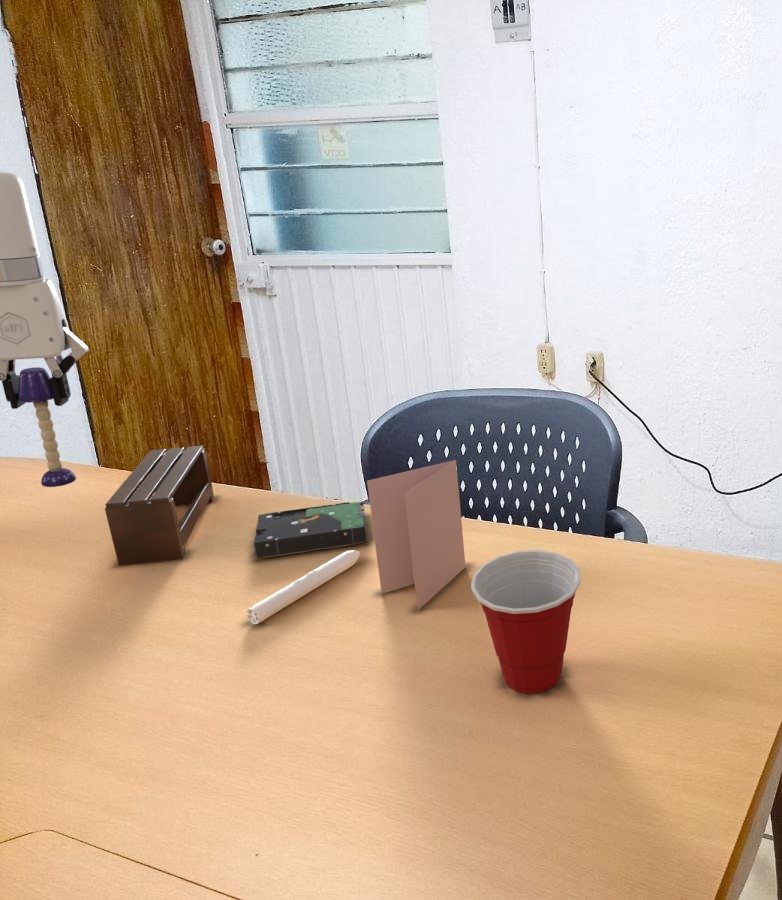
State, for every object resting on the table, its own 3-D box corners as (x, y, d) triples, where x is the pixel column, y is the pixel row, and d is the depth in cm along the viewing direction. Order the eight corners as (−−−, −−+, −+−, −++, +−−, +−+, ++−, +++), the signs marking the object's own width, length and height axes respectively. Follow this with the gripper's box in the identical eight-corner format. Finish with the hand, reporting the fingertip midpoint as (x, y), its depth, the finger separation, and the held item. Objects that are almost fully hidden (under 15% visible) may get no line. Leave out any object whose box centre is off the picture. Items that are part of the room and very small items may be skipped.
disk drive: (257, 562, 112) (369, 543, 116) (253, 543, 111) (367, 525, 115) (260, 531, 121) (365, 515, 125) (257, 514, 120) (362, 497, 124)
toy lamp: (86, 478, 120) (60, 366, 114) (57, 490, 116) (29, 374, 110) (61, 475, 121) (34, 364, 116) (31, 486, 117) (2, 372, 112)
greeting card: (462, 564, 109) (452, 458, 104) (488, 586, 103) (479, 474, 98) (379, 590, 103) (364, 478, 98) (401, 615, 97) (387, 498, 92)
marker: (354, 557, 112) (352, 542, 111) (366, 560, 111) (364, 544, 110) (247, 622, 97) (244, 604, 96) (260, 626, 96) (257, 608, 95)
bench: (118, 565, 111) (103, 504, 108) (160, 503, 132) (148, 450, 128) (182, 558, 113) (169, 497, 110) (214, 497, 133) (204, 445, 130)
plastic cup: (466, 708, 81) (455, 599, 77) (494, 646, 91) (487, 547, 87) (575, 715, 79) (570, 605, 75) (592, 651, 89) (589, 552, 85)
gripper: (-81, 277, 103) (-42, 416, 109) (70, 272, 107) (99, 408, 113) (-51, 269, 110) (-17, 401, 116) (90, 265, 114) (116, 393, 120)
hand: (40, 403), depth 115 cm, fingers closed on toy lamp, 4 cm apart
